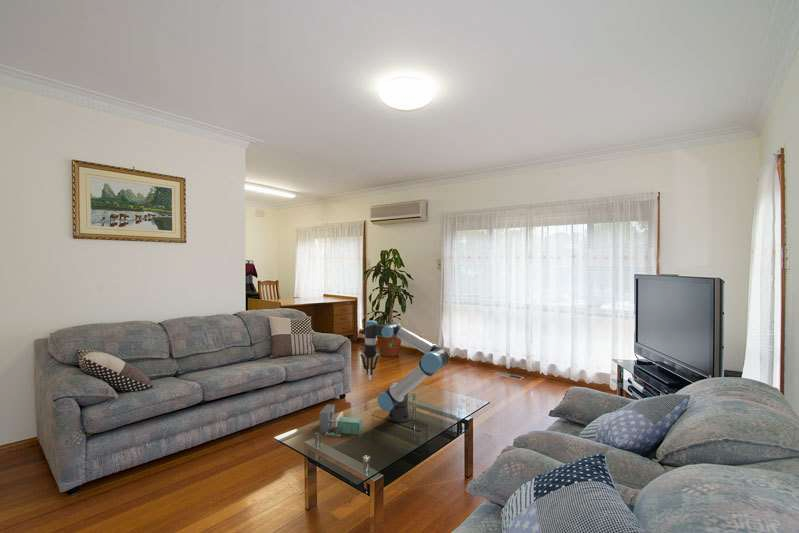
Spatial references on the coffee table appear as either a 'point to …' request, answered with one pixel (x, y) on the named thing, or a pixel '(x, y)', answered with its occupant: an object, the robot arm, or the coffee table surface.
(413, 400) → the coffee table surface
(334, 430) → the plunger
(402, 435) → the coffee table surface
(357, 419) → the box
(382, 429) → the coffee table surface
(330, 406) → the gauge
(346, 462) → the coffee table surface
